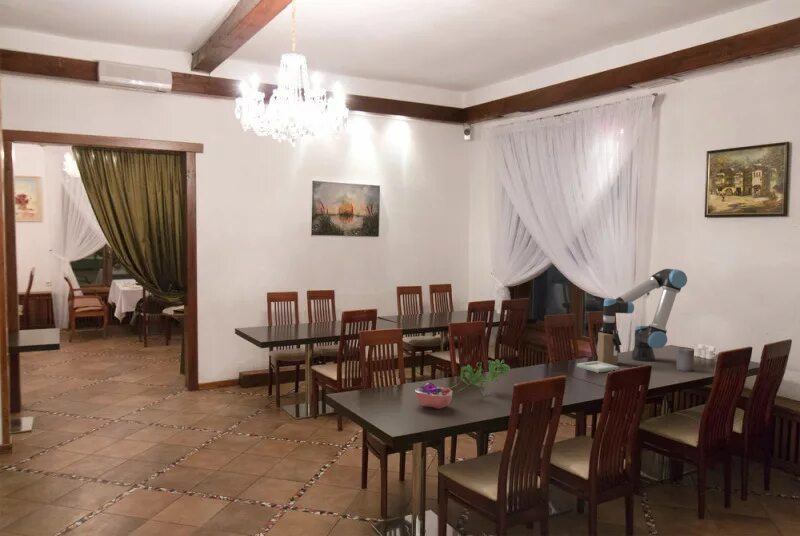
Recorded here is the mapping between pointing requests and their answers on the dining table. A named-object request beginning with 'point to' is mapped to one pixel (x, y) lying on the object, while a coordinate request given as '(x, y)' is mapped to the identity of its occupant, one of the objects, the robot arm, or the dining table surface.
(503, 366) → the plant cuttings
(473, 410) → the dining table surface
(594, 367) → the square tray
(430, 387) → the cell model
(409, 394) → the dining table surface
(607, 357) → the wooden block
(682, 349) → the pillar candle
